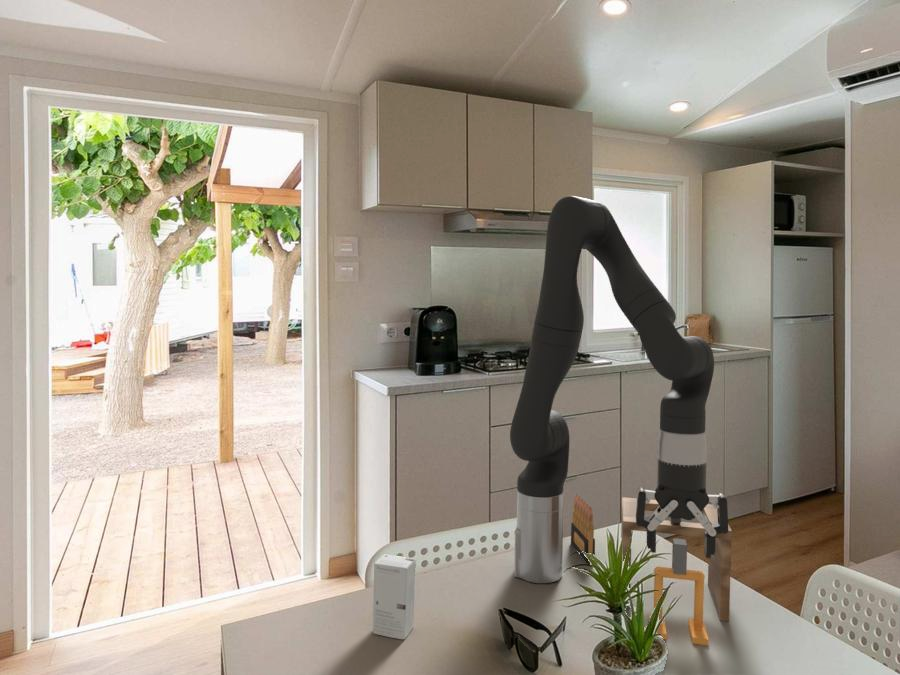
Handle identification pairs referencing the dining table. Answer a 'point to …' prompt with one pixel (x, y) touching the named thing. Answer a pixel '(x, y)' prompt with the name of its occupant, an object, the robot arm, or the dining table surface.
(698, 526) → the wooden frame stand
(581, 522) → the ammunition clip
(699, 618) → the orange footed arch
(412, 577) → the skincare box
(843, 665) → the dining table surface
